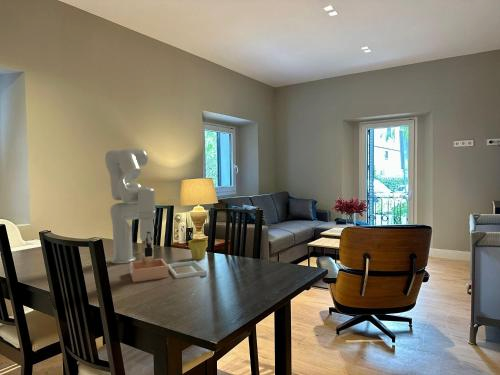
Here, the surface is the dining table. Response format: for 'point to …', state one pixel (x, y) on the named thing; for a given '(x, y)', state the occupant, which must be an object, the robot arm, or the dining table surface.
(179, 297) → the dining table surface
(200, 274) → the grey tray
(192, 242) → the plant pot
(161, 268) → the peach square hollow box
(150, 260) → the maple peg
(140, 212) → the robot arm
